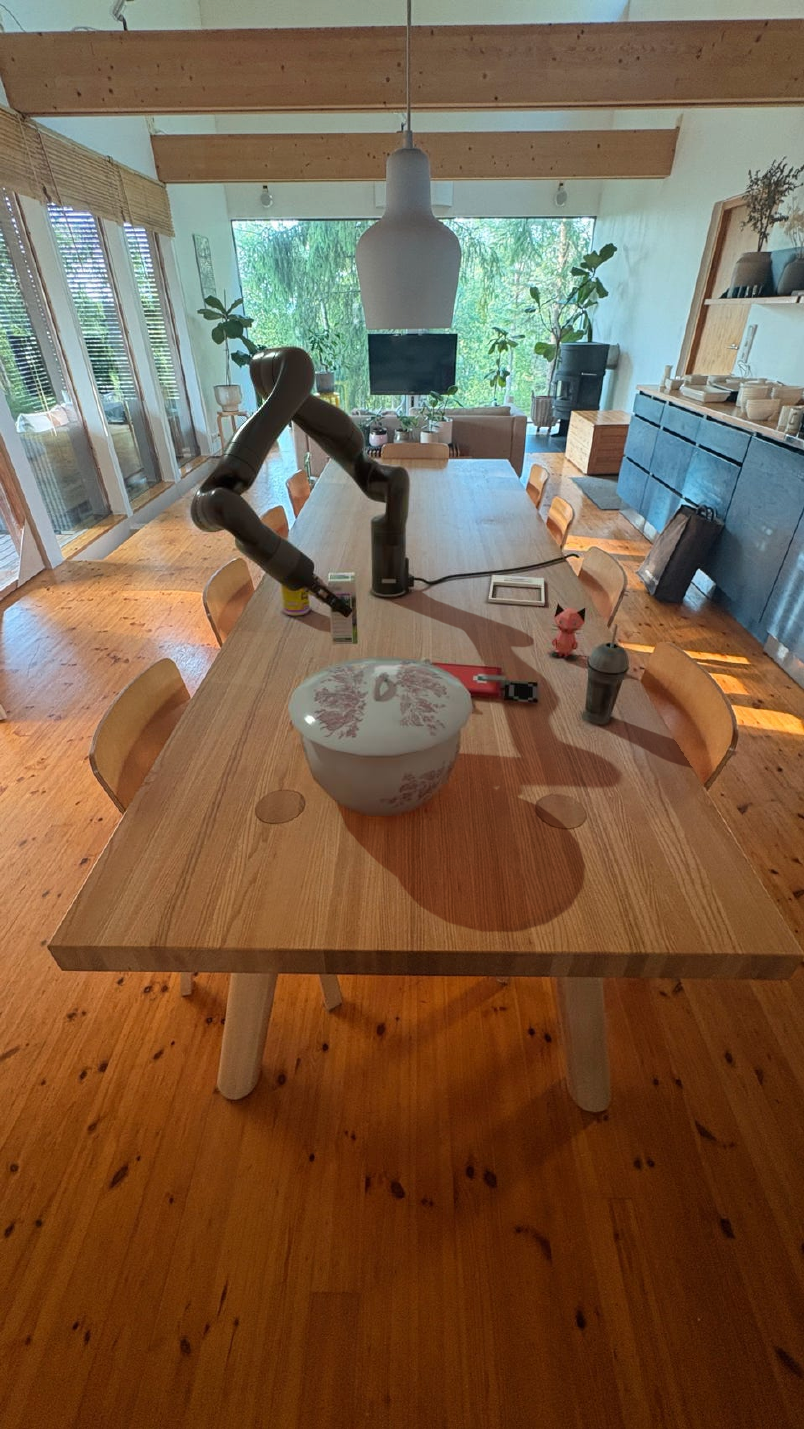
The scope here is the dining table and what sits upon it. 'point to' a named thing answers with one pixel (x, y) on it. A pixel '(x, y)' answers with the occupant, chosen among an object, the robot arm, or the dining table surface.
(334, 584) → the syrup box
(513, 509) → the dining table surface
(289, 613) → the supplement bottle
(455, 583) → the dining table surface
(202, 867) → the dining table surface
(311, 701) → the chamber pot
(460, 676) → the red board with handle
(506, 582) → the photo frame
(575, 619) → the cat figurine
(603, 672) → the beverage cup
